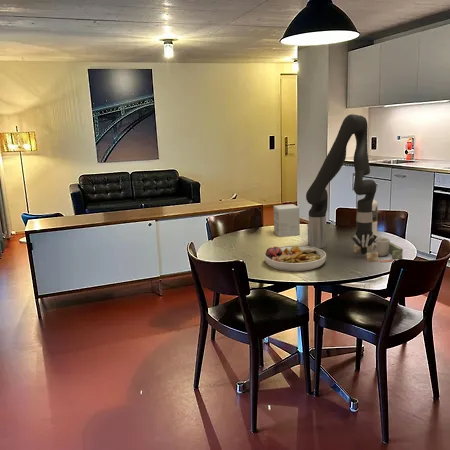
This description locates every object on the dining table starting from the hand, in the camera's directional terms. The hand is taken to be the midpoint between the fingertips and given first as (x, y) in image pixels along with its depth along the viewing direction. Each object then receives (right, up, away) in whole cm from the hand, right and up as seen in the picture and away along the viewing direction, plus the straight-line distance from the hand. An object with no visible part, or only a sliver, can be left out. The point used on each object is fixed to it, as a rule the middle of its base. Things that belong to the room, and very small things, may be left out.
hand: (363, 254), depth 220 cm
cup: (+8, -1, +1) cm, 8 cm away
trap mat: (+9, -3, -8) cm, 12 cm away
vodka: (+14, +7, +32) cm, 36 cm away
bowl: (-35, -5, -3) cm, 35 cm away
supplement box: (-31, +9, +53) cm, 62 cm away
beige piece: (+7, -1, +1) cm, 7 cm away
